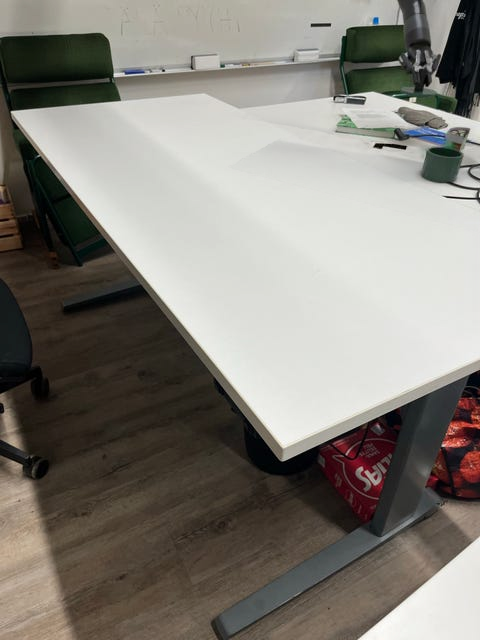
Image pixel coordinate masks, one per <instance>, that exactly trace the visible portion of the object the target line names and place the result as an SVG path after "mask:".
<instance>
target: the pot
mask: <svg viewBox="0 0 480 640" xmlns="http://www.w3.org/2000/svg"><path fill="white" fill-rule="evenodd" d="M463 159H464V153H463V152H462V151H461V152H460V151H458V150H455V149H451V148H446V147H445V146H431V147H428V148H427V149H426V153H425V156H424V160H423V163H422V168H421V171H420V176H421V177H422V178H424V179H426V180H428V181H431V182H436V183H442V184H443V183H444V184H445V183H446V184H447V183H453V182H455V181H457V178H458V174H459V171H460V169H461V165H462V163H463Z"/></svg>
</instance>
